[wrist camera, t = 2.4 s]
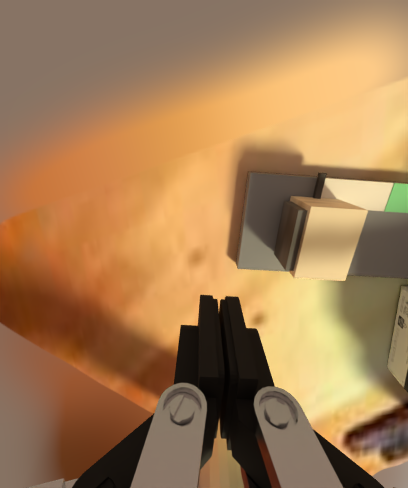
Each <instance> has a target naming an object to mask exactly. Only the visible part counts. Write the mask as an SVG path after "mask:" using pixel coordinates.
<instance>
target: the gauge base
mask: <svg viewBox="0 0 408 488" xmlns="http://www.w3.org/2000/svg"><path fill="white" fill-rule="evenodd" d="M316 181H317V176H303V175H289V174H275V173H261V172H248V176H247V184H246V191H245V199H244V206H243V214H242V222H241V229H240V237H239V244H238V252H237V260H236V265H237V268H238V269H251V270H269V271H285V269H284V268H283V266H282V265H281V264H280V262H279V261H278V259H277V258H276V256H275V255H274V250H275V245H276V240H277V235H278V229H279V224H280V219H281V214H282V209H283V204H284V201H290V198H291V196H301V197H313V194H314V189H315V185H316ZM321 198H330V199H339V200H342V201H344V202H347V203H350V204H353V205H355V206H358V207H361V208H364V209H366V210H368V213H367V216H366V219H365V222H364V225H363V228H362V231H361V234H360V237H359V240H358V243H357V246H356V249H355V252H354V255H353V258H352V261H351V264H350V268H349V271H348V274H347V275H356V276H373V277H390V278H408V183H402V182H388V181H374V180H359V179H345V178H331V177H326V179H325V183H324V187H323V191H322V195H321ZM286 272H289V271H286Z"/></svg>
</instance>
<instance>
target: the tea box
mask: <svg viewBox="0 0 408 488" xmlns="http://www.w3.org/2000/svg"><path fill="white" fill-rule="evenodd" d="M387 368H388V369H389V370H390V372H391V373H392V374H393V375H394V377H395V378H396V379H397V380H398V382H399V383H400V384H401V385H402V386H403V387H404V389H405V390H406V391H407V392H408V285H407V286H401V295H400V298H399V303H398V310H397V316H396V320H395V327H394V333H393V336H392V343H391V349H390V353H389V359H388V364H387Z"/></svg>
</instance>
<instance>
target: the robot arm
mask: <svg viewBox="0 0 408 488" xmlns="http://www.w3.org/2000/svg"><path fill="white" fill-rule="evenodd" d="M28 488H384V487H383V486H382V485H381V484H380V483H379V482H378V481H377V480H376V479H374V478H373V477H372V476H371V475H369V474H368V473H367V472H366V471H364V470H363V469H362V468H361V467H359V466H358V465H357V464H356V463H355V462H353V461H352V460H351V459H350V458H348V457H347V456H346V455H345V454H343V453H342V452H341V451H340V450H338V449H337V448H336V447H335V446H333V445H332V444H331V443H330V442H328V441H327V440H326V439H325V438H323V437H322V436H321V435H320V434H318V433H317V432H316V431H315V430H313V429H312V427H311V425H310V423H309V421H308V419H307V417H306V416H305V414H304V412H303V410H302V408H301V406H300V405H299V403H298V402H297V400H296V399H295V398H294V397H293V396H292V395H291V394H290V393H288V392H287V391H285V390H283V389H281V388H278V387H275V386H274V383H273V379H272V376H271V373H270V370H269V366H268V363H267V360H266V356H265V353H264V350H263V346H262V343H261V340H260V337H259V333H258V331H257V329H253V328H246V326H245V322H244V317H243V313H242V309H241V305H240V301H239V298H238V297H230V296H226V297H225V300H224V299H221V301H220V309H219V311H218V301H217V299H213V296H211V295H200V305H199V318H198V326H191V325H181V328H180V337H179V345H178V354H177V362H176V371H175V379H174V385H172V386H170V387H169V388H167V389H166V390H165V391H164V392H163V393H162V395H161V397H160V399H159V401H158V404H157V407H156V410H155V413H154V414H153V415H152V416H151V417H149V418H148V419H147V420H146V421H145V422H143V424H141V425H140V426H139V427H138V428H136V429H135V430H134V431H133V432H132V433H130V434H129V435H128V436H127V437H126V438H124V439H123V440H122V441H121V442H120V443H119V444H117V445H116V446H115V447H114V448H113V449H111V450H110V451H109V452H108V453H107V454H106V455H104V456H103V457H102V458H101V459H100V460H98V461H97V462H96V463H95V464H94V465H92V466H91V467H90V468H89V469H88V470H87V471H86V472H84V473H83V474H82V476H81V477H80V478H78V479H74V480H70V481H67V482H65V481H64V479H60V480H55V481H51V482H47V483H44V484H40V485H36V486H32V487H28ZM393 488H395V487H393Z"/></svg>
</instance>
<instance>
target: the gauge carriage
mask: <svg viewBox="0 0 408 488" xmlns="http://www.w3.org/2000/svg"><path fill="white" fill-rule="evenodd" d="M326 175H327V174H326V173H318V177H317V181H316V185H315V189H314V194H313V197H301V196H291V198H290V201H284V204H283V209H282V214H281V219H280V224H279V229H278V235H277V240H276V245H275V250H274V255H275V256H276V258H277V259H278V261H279V262H280V264H281V265H282V266H283V268H284V269H285V271H289V272H290V273H291V274H292V276H293V277H294V278H301V279H318V280H336V281H345V280H346V277H347V274H348V271H349V268H350V264H351V261H352V258H353V255H354V252H355V249H356V246H357V243H358V240H359V237H360V234H361V231H362V228H363V225H364V222H365V219H366V216H367V213H368V210H366V209H364V208H361V207H358V206H355V205H353V204H350V203H347V202H344V201H342V200H339V199H330V198H321V195H322V191H323V187H324V183H325V179H326Z"/></svg>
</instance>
